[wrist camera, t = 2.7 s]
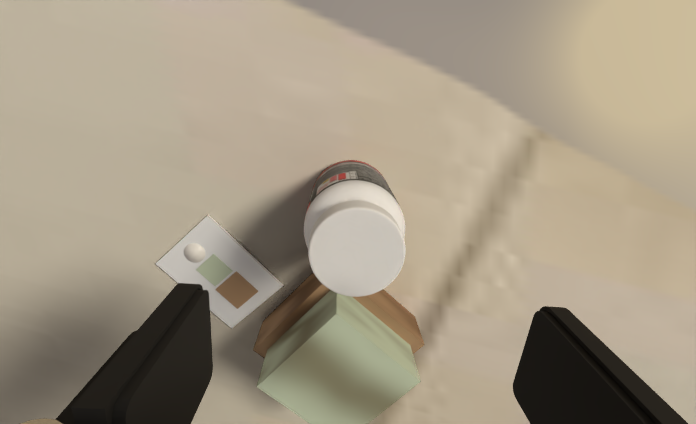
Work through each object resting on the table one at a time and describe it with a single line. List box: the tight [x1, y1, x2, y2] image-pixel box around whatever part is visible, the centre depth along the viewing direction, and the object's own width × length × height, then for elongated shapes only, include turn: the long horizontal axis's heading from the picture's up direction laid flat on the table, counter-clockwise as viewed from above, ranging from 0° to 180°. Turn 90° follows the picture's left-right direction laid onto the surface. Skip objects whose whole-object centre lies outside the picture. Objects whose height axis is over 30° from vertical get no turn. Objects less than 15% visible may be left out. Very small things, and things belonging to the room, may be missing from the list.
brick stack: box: [253, 273, 424, 424], centre depth 26 cm, size 9×9×7 cm
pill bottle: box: [304, 160, 406, 297], centre depth 21 cm, size 6×6×10 cm
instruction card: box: [156, 215, 283, 328], centre depth 27 cm, size 6×8×1 cm
